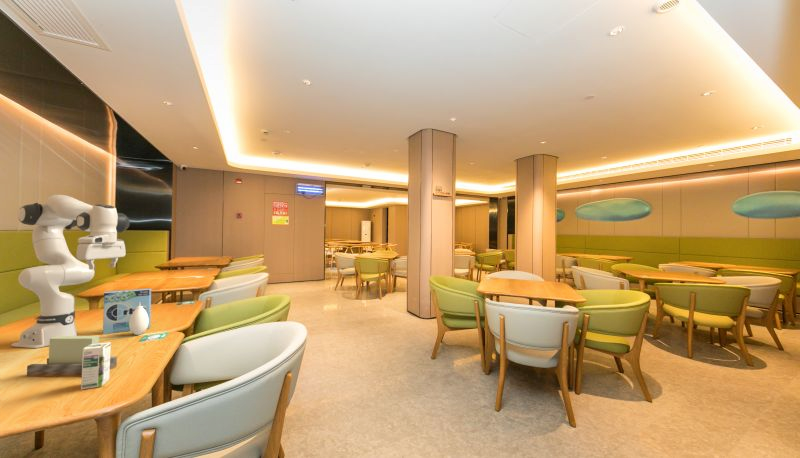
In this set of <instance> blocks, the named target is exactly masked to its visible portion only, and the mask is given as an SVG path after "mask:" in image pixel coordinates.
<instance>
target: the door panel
mask: <svg viewBox="0 0 800 458" xmlns="http://www.w3.org/2000/svg"><path fill="white" fill-rule="evenodd" d="M99 343H100V335H77V336H57V337H53V338H50V342H49V347H48V358H49V364H82V355H83V349H84V348H85V347H87V346H88V345H91V344H99Z"/></svg>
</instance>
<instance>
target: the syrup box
mask: <svg viewBox="0 0 800 458" xmlns="http://www.w3.org/2000/svg"><path fill="white" fill-rule="evenodd" d="M111 343H112V342H111V341H110V342H99V344H91V345H88V346H87V347H85V348H84V349H83V355H82V376H81V383H80V391H81V390H86V389H93V388H94V389H95V388H101V387H103V386H104V385H105V384H106V383H107V382H108V381H109V380H110V373H111V372H110V370H111V369H110V357H111V349H112V348H111V347H112V345H111Z"/></svg>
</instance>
